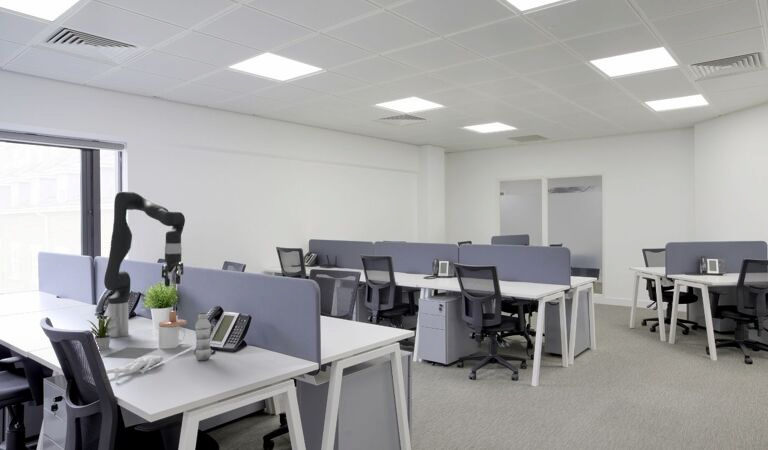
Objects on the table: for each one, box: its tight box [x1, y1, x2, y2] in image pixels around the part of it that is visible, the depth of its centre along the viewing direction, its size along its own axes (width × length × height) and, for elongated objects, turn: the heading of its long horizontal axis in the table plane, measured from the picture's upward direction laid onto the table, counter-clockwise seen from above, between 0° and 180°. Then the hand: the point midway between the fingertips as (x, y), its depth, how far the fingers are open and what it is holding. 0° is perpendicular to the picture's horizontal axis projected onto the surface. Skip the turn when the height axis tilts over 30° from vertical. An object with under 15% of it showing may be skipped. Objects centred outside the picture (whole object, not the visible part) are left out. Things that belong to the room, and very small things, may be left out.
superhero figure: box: [106, 354, 164, 381], centre depth 190 cm, size 12×6×25 cm
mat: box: [103, 346, 159, 360], centre depth 213 cm, size 16×16×1 cm
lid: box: [158, 310, 187, 327], centre depth 226 cm, size 12×12×6 cm
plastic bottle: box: [194, 312, 212, 361], centre depth 205 cm, size 6×7×20 cm
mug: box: [158, 325, 186, 350], centre depth 226 cm, size 9×12×11 cm
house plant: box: [86, 315, 118, 351], centre depth 221 cm, size 14×14×16 cm
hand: (172, 285), depth 235 cm, fingers open, 8 cm apart
